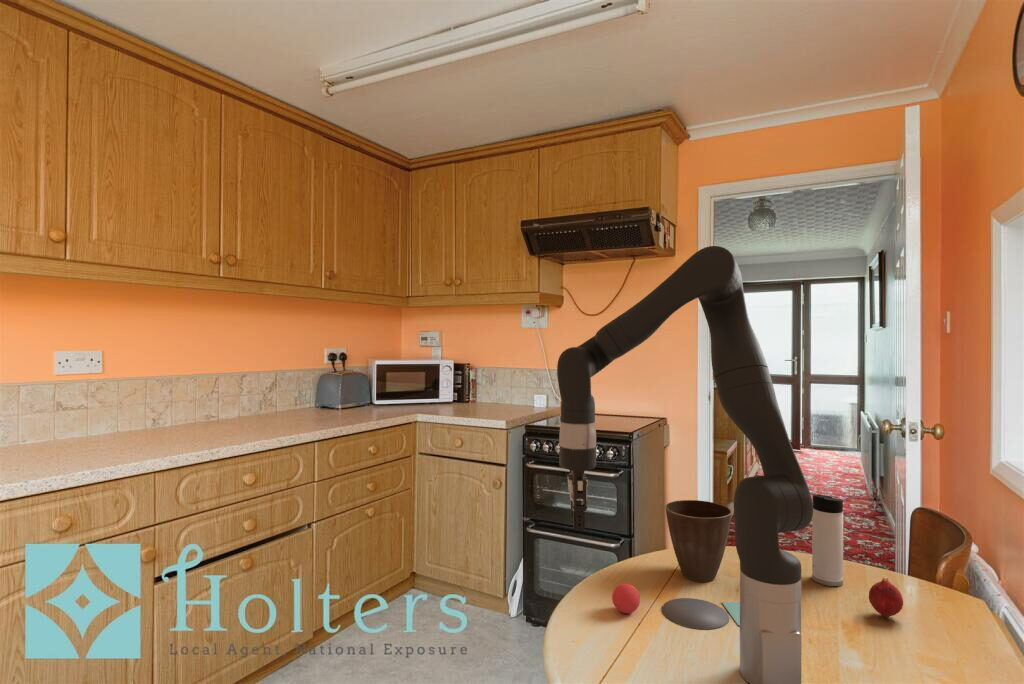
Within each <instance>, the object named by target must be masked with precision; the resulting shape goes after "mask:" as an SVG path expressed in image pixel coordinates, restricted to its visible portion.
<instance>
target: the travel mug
mask: <svg viewBox="0 0 1024 684" xmlns="http://www.w3.org/2000/svg"><path fill="white" fill-rule="evenodd" d="M812 503H813V516H812V520H811V522H812V524H811V525H812V526H811V527H812V532H811V535H812V538H811V539H812V540H811V541H812V543H811V544H812V545H811V548H812V550H811V552H812V553H811V555H812V557H811V558H812V559H811V560H812V561H811V562H812V563H811V565H812V566H811V567H812V569H811V571H812V573H811V576H812V577H811V578H812V580H813V581H814V582H815V581H816V582H815V583H817V582H818V583H817V584H819V583H820V584H819V585H822V584H823V585H822V586H825V585H827V586H826V587H831V586H838V587H842V585H844V500H843V499H841V498H834V497H833V496H830V495H825V494H816V493H814V494H812Z"/></svg>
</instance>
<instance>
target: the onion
mask: <svg viewBox="0 0 1024 684" xmlns="http://www.w3.org/2000/svg"><path fill="white" fill-rule="evenodd" d="M868 600H869V603H870V604H871V607H872V608H873V609H874V610H875V612H877V613H878V614H880V615H881V616H882V617H883V618H889V617H893V616H895V615H898V613H900V612H901V610H902V609H903V606H904V598H903V596H902V593H901V591H900V590H899V589H898V588H897V587H896V586H895V585H894V584H892V583H891V582H890V579H889V578H888V577H887V576H884V577H882V580H881V581H878V582H876V583H874V584H873V585H872V586H871V587H870V590H869V591H868Z"/></svg>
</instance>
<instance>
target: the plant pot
mask: <svg viewBox="0 0 1024 684" xmlns="http://www.w3.org/2000/svg"><path fill="white" fill-rule="evenodd" d="M664 507H665V513H666V514H665V515H666V519H667V520H666V521H667V526H668V531H669V532H668V533H669V537H670V539H671V543H672V548H673V550H674V551H673V552H674V555H675V557H676V560H677V563H678V565H679V569H680V572H681V573H682V576H683V577H684V578H685V579H687V580H690V581H694V582H697V583H699V582H700V583H701V582H702V583H708V582H709V583H710V582H712V581H714V580H715V579H716V577H717V574H718V571H719V569H720V566H721V564H722V561H723V558H724V555H725V551H726V548H727V547H726V546H727V542H728V538H729V534H730V533H729V532H730V527H731V521H732V520H731V519H732V515H733V512H732V509H731V508H729V507H728V506H726V505H723V504H720V503H717V502H713V501H707V500H697V499H696V500H695V499H683V500H673V501H670V502H668V503H666V505H665V506H664Z"/></svg>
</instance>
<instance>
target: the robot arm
mask: <svg viewBox="0 0 1024 684" xmlns="http://www.w3.org/2000/svg"><path fill="white" fill-rule="evenodd" d="M743 284H744V283H743V277H742V271H741V269H740V267H739V265H738V262H737V260H736V258H735V256H734V255H733V253H732V252H730V250H729V249H727V248H725V247H722V246H719V245H709V246H706V247H703V248H700V249H699V250H698V251H696V252H694V253H693V254H692V255H691V256H689V258H688V259H686V260H685V261H684V262H683V263H682V264H681V265H680V266H679V267H678V268H677V269H676V270H675V271H673V273H671V274H670V275H668V277H667V278H666V279H664V281H662V282H661V283H660V284H659V285H657V286H656V287H655V289H653V290H652V291H651V292H649V293H648V294H647V295H646V296H645V297H644V298H643V299H641V300H640V301H638V302H637V303H636V304H634V305H633V306H632V307H630V308H629V309H627V310H626V311H624V312H623V313H621V314H619V315H618V316H616V317H615V318H613V319H612V320H611V321H609V322H608V323H606V324H605V325H603V326H602V327H600V329H598V330H597V332H596V333H595V335H594V336H592V337H591V338H589V339H587V340H586V341H584V342H583V343H581V344H580V345H578V346H571V347H568V348H566V349H565V350H563V351H562V352H561V354H559V357H558V359H557V363H556V368H557V369H556V374H557V376H556V377H557V383H558V390H559V396H560V424H559V425H560V427H559V436H558V438H559V440H558V441H559V448H558V449H559V453H558V454H559V455H558V457H559V458H558V459H559V460H558V461H559V462H558V463H559V467H561V468H562V469H564V470H569V474H567V484H568V485H567V487H568V488H567V490H568V491H567V492H568V493H569V499H570V518H572V519H573V520H572V521H573V522H572V523H573V524H572V525H573V530H574V531H577V532H578V531H585V529H586V528H585V527H586V514H585V513H586V512H587V509H588V506H587V500H588V497H589V496H588V485H589V478H588V476H587V474H585V472H586V471H589V470H593V469H595V468H596V466H597V429H596V404H595V398H594V396H593V395H592V381H591V380H592V379H591V378H592V377H594V376H595V375H596V374H598V373H599V372H601V371H602V370H603V369H605V368H606V367H607V366H609V365H610V364H611V363H612V362H614V361H616V360H617V359H619V358H620V357H623V356H624V355H626V354H627V353H629V352H631V351H632V350H634V349H635V348H636V347H638V346H639V345H641V344H643V343H644V342H645V341H647V340H648V339H649V338H650V337H652V336H653V334H655V332H656V331H658V330H659V329H660V327H661V326H662V325H663V324H664V323H665V322H666V321H667V320H668V319H669V318H670V317H671V316H672V315H673V314H674V313H676V311H678V310H679V309H681V308H682V307H683V306H685V305H687V304H688V303H690V302H692V301H693V300H696V299H698V302H699V303H700V306H701V308H702V311H703V313H704V317H705V319H706V323H707V325H708V329H709V336H710V358H711V359H710V360H711V369H712V374H713V379H714V382H715V387H716V390H717V395H718V398H719V401H720V404H721V406H722V408H723V411H725V413H726V415H727V416H728V417H729V418H730V419H731V421H732V422H733V423H734V424H735V425H736V426H737V427H738V429H739V430H740V432H742V434H743V435H744V436H745V437H746V439H747V440H748V441H749V442H750V444H751V445H752V447H753V449H754V450H755V452H756V454H757V458H758V460H759V463H760V466H761V470H762V473H763V475H755V476H748V477H744V478H743V479H741V480H740V481H739V482H738V484H737V485H736V488H735V491H734V493H733V494H734V495H733V518H734V539H735V540H734V541H735V547H736V552H737V556H738V558H739V602H740V626H739V673H741V674H740V676H741V675H742V676H741V677H742V679H743V680H744V681H745V682H747V683H748V682H749V683H750V684H802V655H803V653H802V647H803V646H802V640H803V639H802V638H803V637H802V564H801V561H800V559H799V558H798V557H797V556H796V555H794V554H792V553H790V552H788V551H785V550H783V549H781V548H780V542H779V534H781V533H783V534H784V533H788V532H796V531H801V530H803V529H805V528H807V527H808V526H809V525H810V523H811V522H812V516H813V497H812V495H811V491H810V487H809V486H808V483H807V480H806V478H805V475H804V473H803V469H802V468H801V466H800V463H799V461H798V459H797V456H796V454H795V451H794V448H793V445H792V444H791V440H790V437H789V434H788V431H787V429H786V425H785V422H784V419H783V416H782V412H781V410H780V406H779V403H778V400H777V396H776V392H775V388H774V384H773V380H772V377H771V374H770V370H769V366H768V364H767V361H766V357H765V356H764V352H763V349H762V347H761V345H760V342H759V340H758V338H757V336H756V333H755V332H754V329H753V327H752V324H751V321H750V318H749V314H748V310H747V304H746V300H745V299H746V298H745V293H744V291H745V290H744V285H743ZM749 683H748V684H749Z"/></svg>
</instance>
